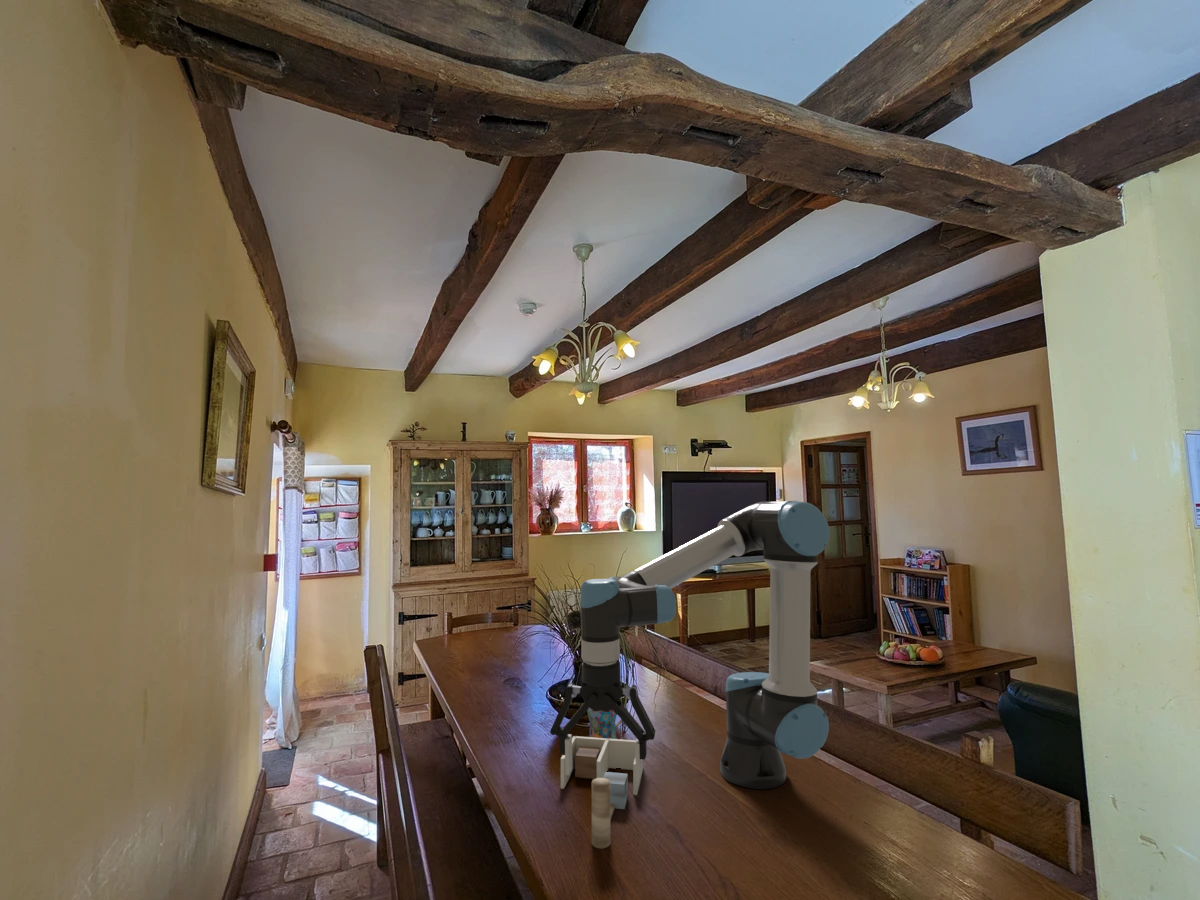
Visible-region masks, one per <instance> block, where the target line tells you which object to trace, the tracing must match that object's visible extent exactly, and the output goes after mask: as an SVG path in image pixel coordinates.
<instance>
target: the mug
mask: <svg viewBox="0 0 1200 900" xmlns="http://www.w3.org/2000/svg"><path fill="white" fill-rule="evenodd" d="M586 713H587V716H588V720H589V732H588V733H589V734H588V737H594V738H608V739H618V737H617V735H616V734H617V728H618V726H620V724H621V723H622V722H623V721H622V719H621V718H620V720H619V721H618V722H617V723H616V720H617V716H618V715H617V714H616V713H615V712H614V711H613V710H611V711H609V712H605V711H593V710H592V709H590V708H589V709H588V710H587V711H586Z"/></svg>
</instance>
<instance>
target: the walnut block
mask: <svg viewBox="0 0 1200 900" xmlns="http://www.w3.org/2000/svg"><path fill="white" fill-rule="evenodd" d="M599 754H600V748H591V747H580V748H579V749H578V751H577V753H576V755H575V768H574V770H575V771H574V774H575V775H574V777H575V778H582V779H592V780H594V779H596V778H597V759H598V757H599Z"/></svg>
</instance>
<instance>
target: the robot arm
mask: <svg viewBox="0 0 1200 900" xmlns="http://www.w3.org/2000/svg"><path fill="white" fill-rule="evenodd" d="M829 527H830V526H829V523H828V520H827V518H826V517H825V514H824V513H822V512H821V510H820V509H819V508H818V507H817V506H815V505H813V504H812V503H810V502H806V501H805V502H804V501H797V500H783V501H782V500H781V501H780V500H779V501H778V500H777V501H771V500H770V501H769V500H768V501H767V500H765V501H760V502H756V503H754V504H753V503H752V504H750V505H749V506H746V507H744V508H742V509H740V510H739V511H738V510H737V512H735V513H734V512H733V513H732V514H730V515H729V516H727V517H725V518H722V519H721V520H720V521H719V522H718V523H717V527H715V528H713V529H711V530H709V531H707V532H704V533H703V534H701V535H699V536H698V537H696V538H694V539H692V540H690V541H688V542H685V543H684V544H682V545H680V546H678V547H677V548H675V549H674V548H673V550H671V551H669V552H667V553H664V554H663V555H661V556H659V557H658V558H655V559H653V560H651V561H649V562H647V563H646V564H644V565H642V566H640V567H638V568H636V569H634V570H632V571H629V572H628V573H626V574H624V575H622V576H610V577H608V578H592V579H587V580H584V581H583V583H582V584H581V587H580V594H579V596H580V601H579V608H580V628H581V630H580V631H581V637H580V638H581V639H580V640H581V643H580V645H581V660H582V663H581V686H579V685H575V684H574V683H573V682H570V683H569V684H568V685H567V687H566V688H565V697H564V700H563V702H562V703H561V706H560V709H559V711H558V713H557V715H556V717H555V720H554V721H553V724H552V727H551V728H550V732H549V733H550V735H551V736H557V737H558V738H559V752H560V755H561V756H562V755H565V773H566V775H570V773H571V771H572V738H573V735H572V734H570V732H571V731H572V730H573V728H574V727H575V726H576V724H577V723H578V722H579V721H580V720H581V719H582V717H583V715H584V714H586V713H587V710H588V709H589V708H590V709H592V710H593V711H605V712H609V711H611V710H613V711H614V712H615V713H616V714H617V716H618V717H619V718H620V720H621V719H622V722H623V723H624V724H625V726H626V727H627V728H628V729H629V731H630V732H631V733H632V734H633V736H634V737H635V740H636V742H635V760H636V779H639V780H640V777H641V778H642V776H641V773H642V774H643V772H642V771H641V759H643V761H644V760H646V758H647V753H648V752H647V751H648V750H647V741H652V740H654V739H655V737H656V736H655V735H656V729H655V727H654V725H653V722H652V721H651V719H650V717H649V715H648V712H647V711H646V709H645V707H644V705H643V703H642V701H641V699H640V697H639V691H638V687H637V685H636V684H632V685H631V686H630V687H628V686H627V687H624V686H622V683H621V680H622V679H621V678H622V676H621V662H620V661H619V659H620V657H621V646H620V645H621V644H620V642H621V639H620V628H627V627H637V626H648V625H659V624H663V623H669V622H672V621H673V619H674V618H675V616H676V613H677V599H676V596H675V593H674V591H673V590H672V589H673V588H676V587H677V586H679V585H680V584H683V583H684V582H686V581H688V580H690V579H691V578H693V577H696V576H697V575H699V574H701V573H702V572H705V571H707V570H709V569H710V568H713V566H716V565H717V564H719V563H721V562H723V561H724V560H726V559H728V558H731V557H732V556H735V557H741V556H744V555H745V554H746V553H750V552H753V551H763V561H764V562H765V563H766V564H767V566H769V568H770V569H769V570H770V571H769V572H770V573H769V574H770V575H769V576H770V577H769V581H770V582H769V585H770V587H769V641H768V642H769V645H768V646H769V647H768V649H769V650H768V652H769V653H768V658H769V659H768V673H767V672H760V671H759V672H757V671H748V672H747V671H744V672H743V671H742V672H737V673H733V674H730V675H729V676H727V678H726V681H725V690H724V692H725V702H726V703H725V704H726V706H725V707H726V710H725V711H726V741H725V744H724V746H723V750H722V753H721V757H720V762H719V771H720V774H721V776H722V777H723V778H724V779H725V780H726V781H728V782H730V783H732V784H733V785H737V786H739V787H743V788H747V789H754V790H767V789H768V790H769V789H774V788H778V787H780V786H781V785H783V784H784V783H785V781H786V779H787V771H786V765H785V763H784V760H783V756H782V754H784V755H788V756H790V757H791V758H794V759H801V760H803V759H808V758H811V757H813V756H814V755H816V754H817V753H819V751H820V749H821V748H823V746H824V744H825V743H826V741H827V739H828V736H829V731H830V724H829V723H830V722H829V719H828V716H827V714H826V712H824V710H823V709H822V707H820V706H819V705H818V690H817V688H816V687H815V686H814V684H813V683H812V682H811V681H810V680H811V677H810V676H811V668H810V667H811V571H812V569H813V568H814V567H815V566H817V565H818V563H819V561H818V558H819V554H821V553H822V552H823V551H824V550H825V547H827V545H828V543H829V540H830V528H829ZM578 694H580V696H581V698H582V699H583V701H584V702H583V703H582V704H581V705H580V706H579V708H578V710H577V711H576V712H575V713H574V714H573V715H572V717H571V718H570V719H568V720H569V721H567V723H566V724H565V726H564V727H562V726H561V725H562V723H563V721H564V719H565V716H566V714H567V713H568V710H569V707H570V705H571V704H572V701H573V699H574V698H576V697H577V695H578ZM623 695H624V696H626V699H627V700H630V704H631V705H632V708H633V710H634V712H635V714H636V716H637V718H638V719H639V722H640V724H639V722H637V720H636V719H635V718H634V716H633V715H632V714H631V713H630V712H629V710H628V709H627V708H626V707H625V705H624V703H623V702H622V701H621V698H622V697H623ZM642 727H643V728H642ZM640 781H641V780H640Z"/></svg>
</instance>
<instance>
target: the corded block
mask: <svg viewBox="0 0 1200 900" xmlns="http://www.w3.org/2000/svg"><path fill="white" fill-rule="evenodd" d="M628 791H629V775H628V773H621V772H612V771H608V772H605V774H604V776H603V778H596V779H592V781H591V845H592V846H593V848H595V849H605V848H606V849H607V848H608V847H610V846H611V838H612V837H611V833H612V832H611V821H612V817H613V814H614V811H615V809H616V810H617V809H618V810H625V809H626V806H627V802H628V799H627V798H629V792H628Z"/></svg>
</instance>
